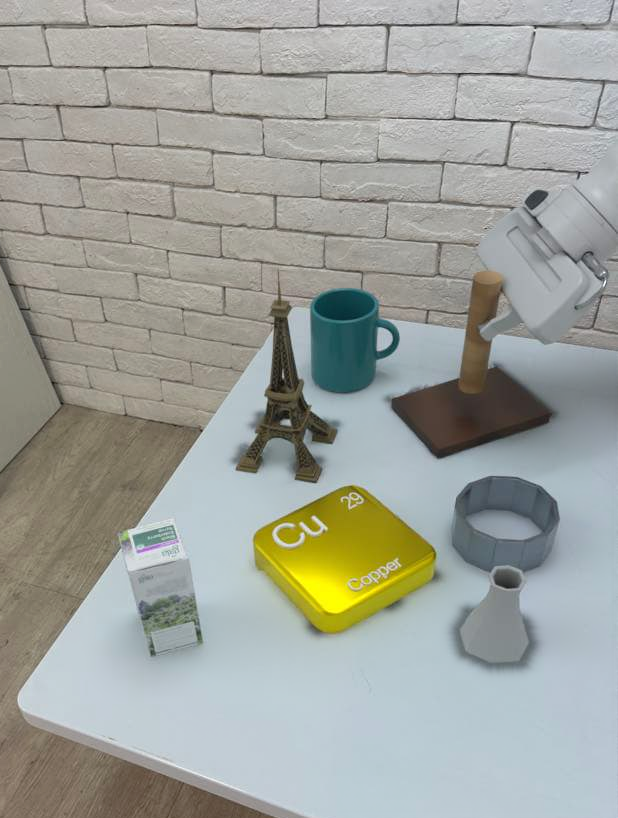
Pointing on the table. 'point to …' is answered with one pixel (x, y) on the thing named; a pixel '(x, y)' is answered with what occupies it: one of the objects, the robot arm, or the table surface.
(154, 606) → the syrup box
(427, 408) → the board
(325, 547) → the element tile
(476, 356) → the stick
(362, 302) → the cup
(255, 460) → the eiffel tower
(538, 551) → the ring
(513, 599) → the flask
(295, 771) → the table surface
